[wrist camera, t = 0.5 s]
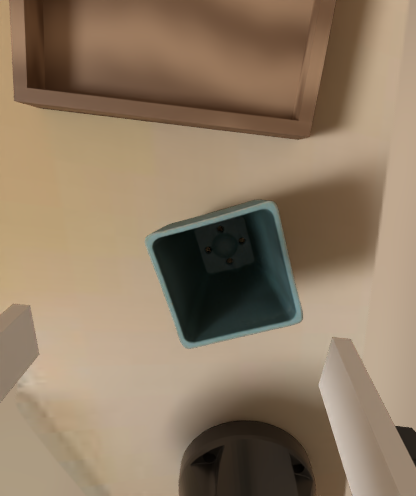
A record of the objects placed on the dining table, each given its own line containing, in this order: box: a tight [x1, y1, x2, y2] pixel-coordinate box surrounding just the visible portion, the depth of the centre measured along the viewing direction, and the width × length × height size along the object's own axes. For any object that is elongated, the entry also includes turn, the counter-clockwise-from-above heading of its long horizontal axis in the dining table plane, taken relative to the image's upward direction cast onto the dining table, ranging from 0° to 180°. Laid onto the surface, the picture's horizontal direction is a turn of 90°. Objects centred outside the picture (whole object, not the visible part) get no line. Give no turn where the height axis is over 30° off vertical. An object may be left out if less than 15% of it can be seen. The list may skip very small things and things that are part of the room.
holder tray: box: [9, 0, 336, 140], centre depth 23 cm, size 16×22×4 cm
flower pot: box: [145, 200, 303, 349], centre depth 25 cm, size 9×9×9 cm
